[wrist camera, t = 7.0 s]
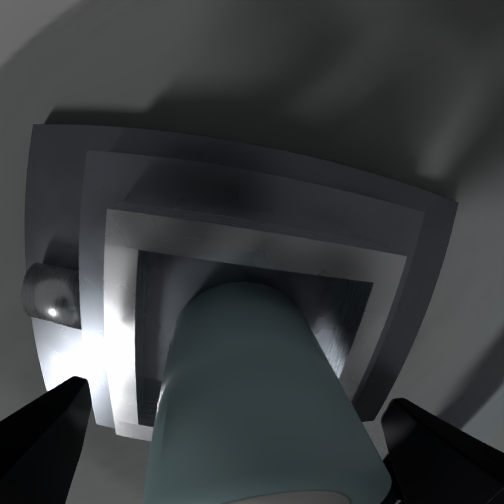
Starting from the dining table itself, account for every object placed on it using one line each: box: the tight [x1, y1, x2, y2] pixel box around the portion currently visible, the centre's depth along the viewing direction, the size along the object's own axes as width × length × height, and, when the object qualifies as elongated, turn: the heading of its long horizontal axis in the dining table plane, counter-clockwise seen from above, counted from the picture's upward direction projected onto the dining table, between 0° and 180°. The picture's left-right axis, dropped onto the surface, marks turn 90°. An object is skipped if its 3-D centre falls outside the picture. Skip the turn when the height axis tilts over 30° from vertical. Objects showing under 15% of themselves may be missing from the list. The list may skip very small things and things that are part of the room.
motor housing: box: [21, 124, 458, 441], centre depth 11 cm, size 20×14×4 cm
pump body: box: [143, 282, 392, 504], centre depth 7 cm, size 5×5×7 cm
